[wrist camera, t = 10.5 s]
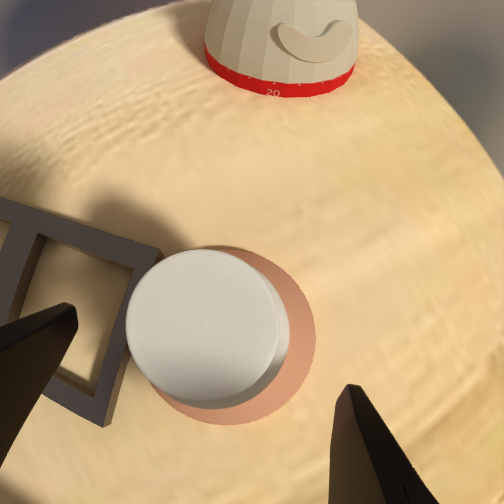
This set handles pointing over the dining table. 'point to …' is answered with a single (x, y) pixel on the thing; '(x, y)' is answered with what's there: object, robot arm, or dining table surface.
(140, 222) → the dining table surface
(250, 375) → the pill bottle
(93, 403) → the dark grey flat frame
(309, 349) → the coaster
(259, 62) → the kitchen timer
